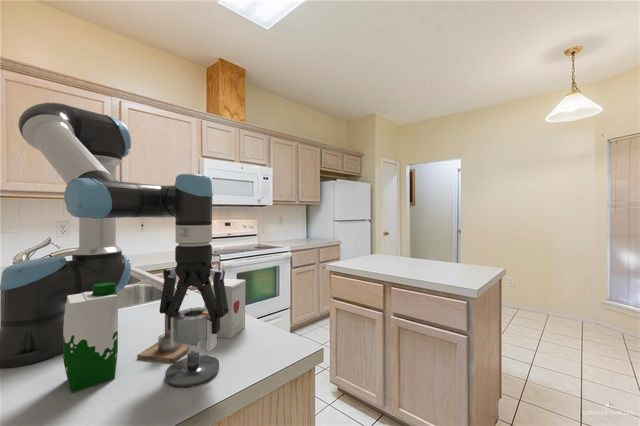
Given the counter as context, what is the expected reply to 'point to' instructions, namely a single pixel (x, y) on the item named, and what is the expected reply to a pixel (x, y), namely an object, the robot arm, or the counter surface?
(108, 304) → the milk carton
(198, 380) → the disc
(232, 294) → the supplement box
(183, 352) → the stand
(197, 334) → the clutch ring
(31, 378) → the counter surface
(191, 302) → the counter surface
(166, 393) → the counter surface
